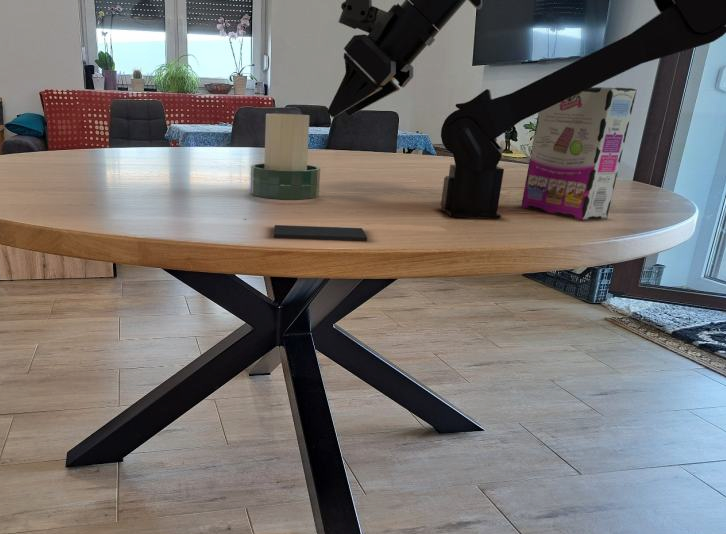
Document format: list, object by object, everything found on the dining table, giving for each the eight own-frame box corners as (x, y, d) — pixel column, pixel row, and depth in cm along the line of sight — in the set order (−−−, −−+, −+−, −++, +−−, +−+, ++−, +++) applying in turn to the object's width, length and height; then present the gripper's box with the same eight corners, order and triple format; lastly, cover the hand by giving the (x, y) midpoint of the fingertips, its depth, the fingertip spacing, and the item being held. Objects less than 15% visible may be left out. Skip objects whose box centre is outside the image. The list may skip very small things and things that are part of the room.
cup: (304, 191, 96) (308, 114, 92) (305, 198, 91) (310, 116, 87) (264, 190, 96) (266, 113, 92) (263, 196, 91) (265, 114, 87)
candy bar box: (609, 220, 85) (640, 88, 79) (582, 222, 83) (612, 87, 77) (544, 205, 95) (567, 87, 89) (518, 207, 93) (540, 86, 87)
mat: (361, 231, 73) (362, 228, 73) (366, 241, 68) (367, 237, 68) (274, 228, 73) (274, 224, 73) (273, 237, 68) (273, 234, 68)
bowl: (316, 194, 98) (318, 164, 97) (319, 205, 89) (321, 172, 87) (252, 192, 98) (252, 162, 97) (248, 202, 89) (249, 169, 88)
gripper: (391, -19, 88) (316, 74, 95) (360, -46, 71) (274, 69, 79) (447, 38, 88) (368, 127, 95) (430, 25, 71) (337, 133, 79)
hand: (338, 114), depth 87 cm, fingers open, 9 cm apart
